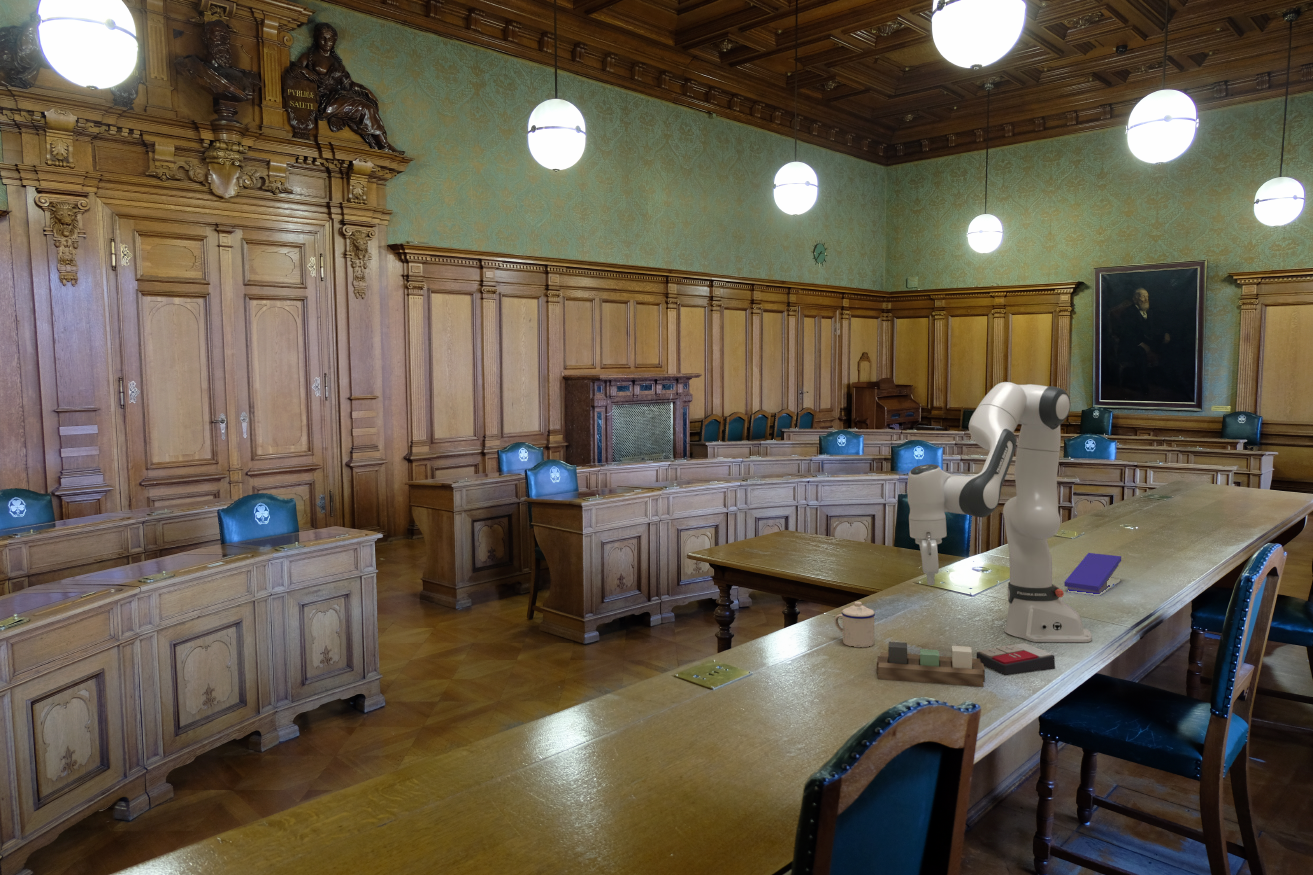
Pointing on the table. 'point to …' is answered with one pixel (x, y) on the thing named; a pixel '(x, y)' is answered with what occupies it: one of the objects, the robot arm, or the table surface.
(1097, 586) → the purple sloped board
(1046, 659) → the push button box
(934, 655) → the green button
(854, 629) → the teacup with lid
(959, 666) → the cream white block
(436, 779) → the table surface
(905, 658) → the dark grey block
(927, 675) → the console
